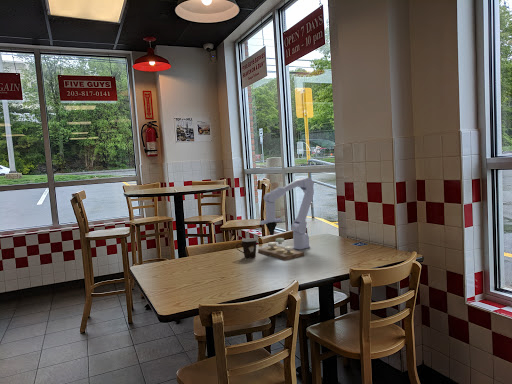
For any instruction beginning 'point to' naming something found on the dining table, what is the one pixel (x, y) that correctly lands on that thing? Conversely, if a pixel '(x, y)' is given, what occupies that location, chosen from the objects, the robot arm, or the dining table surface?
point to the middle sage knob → (280, 240)
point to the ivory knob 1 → (272, 244)
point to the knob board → (280, 252)
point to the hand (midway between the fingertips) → (271, 234)
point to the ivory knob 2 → (288, 248)
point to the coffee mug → (248, 247)
